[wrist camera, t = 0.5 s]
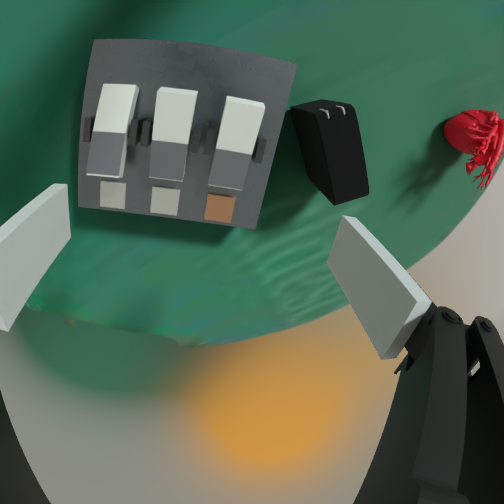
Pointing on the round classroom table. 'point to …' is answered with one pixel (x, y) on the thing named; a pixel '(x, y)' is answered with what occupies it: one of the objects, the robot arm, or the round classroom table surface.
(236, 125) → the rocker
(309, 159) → the electronic device
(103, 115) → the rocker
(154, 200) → the console
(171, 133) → the rocker mid
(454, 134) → the heart organ
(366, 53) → the round classroom table surface
